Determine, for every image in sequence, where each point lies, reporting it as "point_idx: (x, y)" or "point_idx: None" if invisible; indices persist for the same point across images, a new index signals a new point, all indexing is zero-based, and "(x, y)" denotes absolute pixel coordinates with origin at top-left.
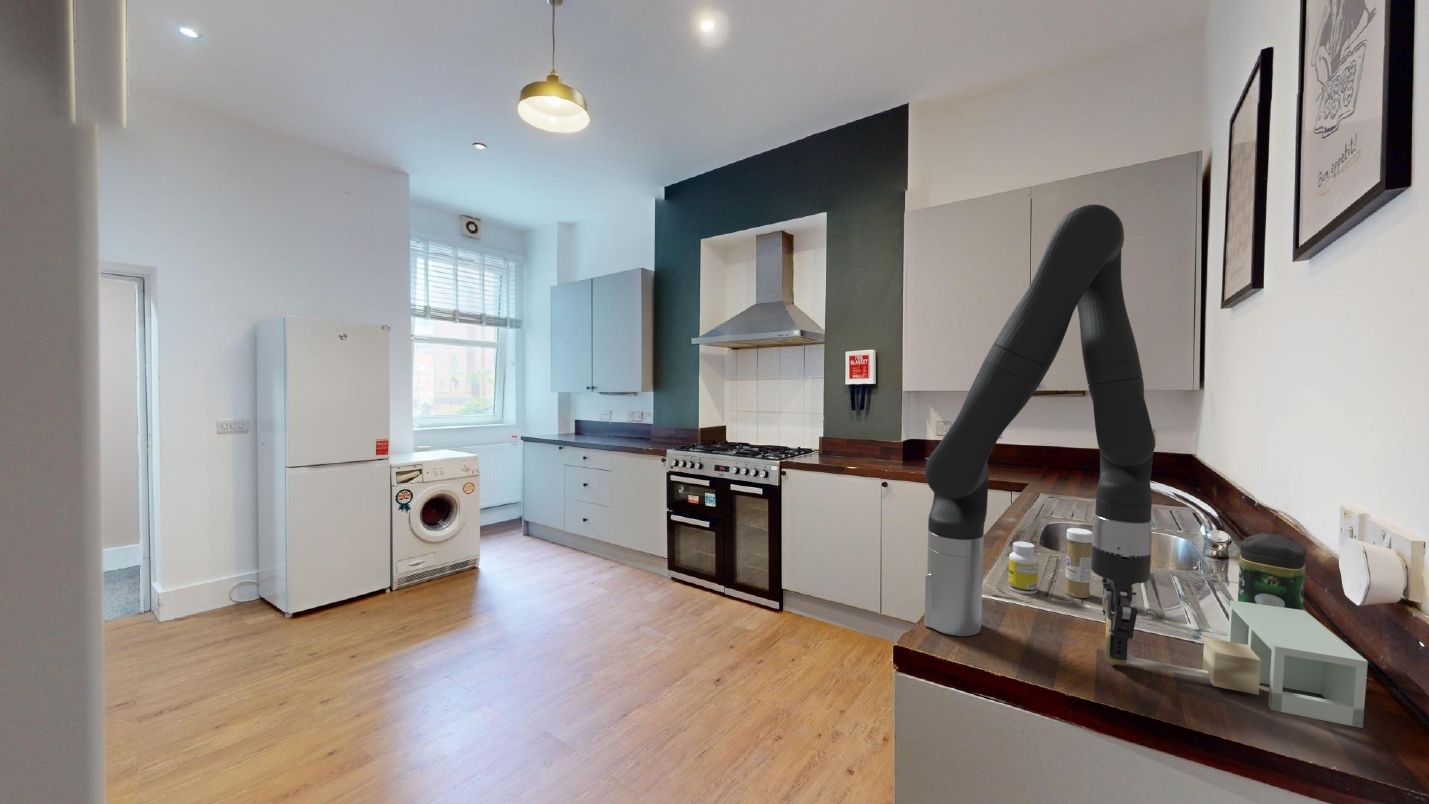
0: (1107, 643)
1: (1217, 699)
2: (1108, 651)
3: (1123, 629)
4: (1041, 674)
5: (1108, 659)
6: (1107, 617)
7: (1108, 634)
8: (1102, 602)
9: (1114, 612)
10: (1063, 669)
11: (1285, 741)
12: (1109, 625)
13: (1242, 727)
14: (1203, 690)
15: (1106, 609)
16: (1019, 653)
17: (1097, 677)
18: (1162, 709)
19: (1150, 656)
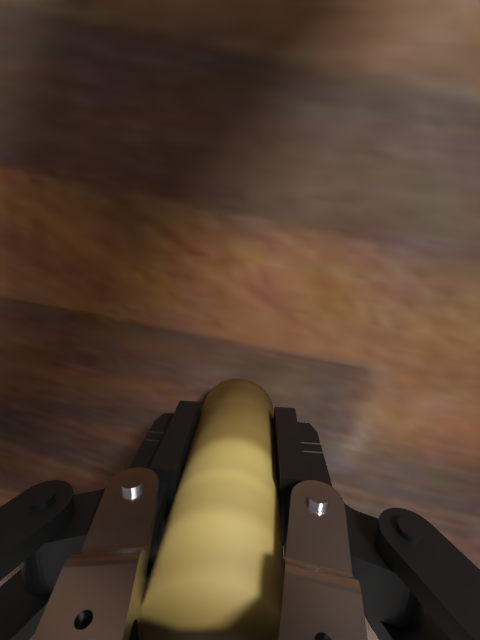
0: (213, 421)
1: None
2: (210, 405)
3: (28, 575)
4: (28, 117)
5: (213, 388)
6: (196, 539)
7: (202, 455)
8: (357, 621)
9: (218, 624)
10: (121, 214)
11: None
12: (187, 502)
13: None
14: None
15: (92, 623)
16: (188, 22)
17: (118, 325)
18: (12, 453)
19: None
